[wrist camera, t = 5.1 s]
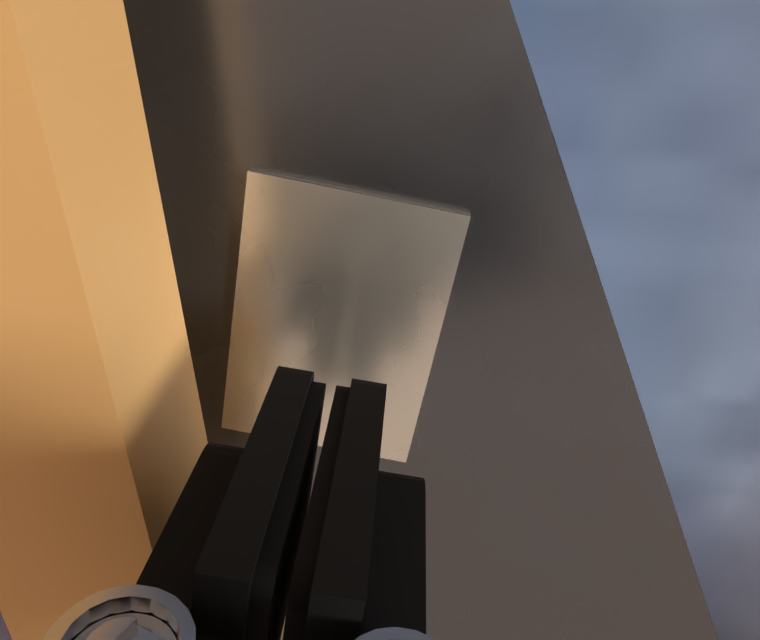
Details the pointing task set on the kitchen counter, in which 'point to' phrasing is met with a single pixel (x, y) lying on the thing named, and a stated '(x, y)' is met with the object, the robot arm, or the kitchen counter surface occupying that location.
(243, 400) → the plate
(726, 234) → the kitchen counter surface
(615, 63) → the kitchen counter surface
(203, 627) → the robot arm
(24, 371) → the wooden bar
